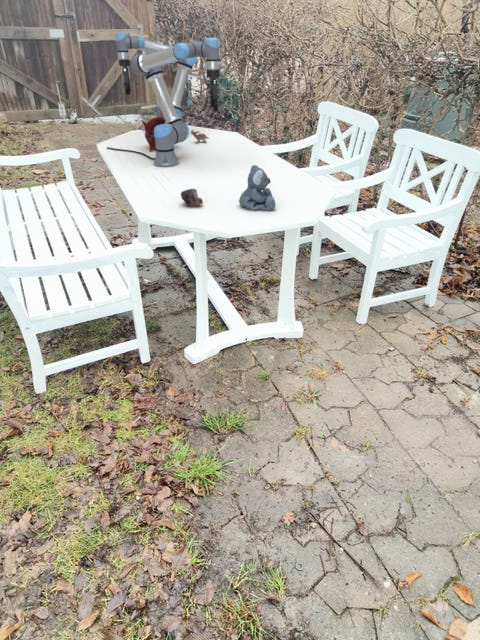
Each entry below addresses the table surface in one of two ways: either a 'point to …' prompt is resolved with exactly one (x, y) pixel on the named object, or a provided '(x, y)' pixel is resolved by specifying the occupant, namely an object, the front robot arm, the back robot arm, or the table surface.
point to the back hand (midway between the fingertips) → (128, 93)
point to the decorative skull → (152, 130)
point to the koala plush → (257, 191)
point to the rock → (191, 197)
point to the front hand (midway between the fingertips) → (214, 109)
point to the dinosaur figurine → (199, 136)
